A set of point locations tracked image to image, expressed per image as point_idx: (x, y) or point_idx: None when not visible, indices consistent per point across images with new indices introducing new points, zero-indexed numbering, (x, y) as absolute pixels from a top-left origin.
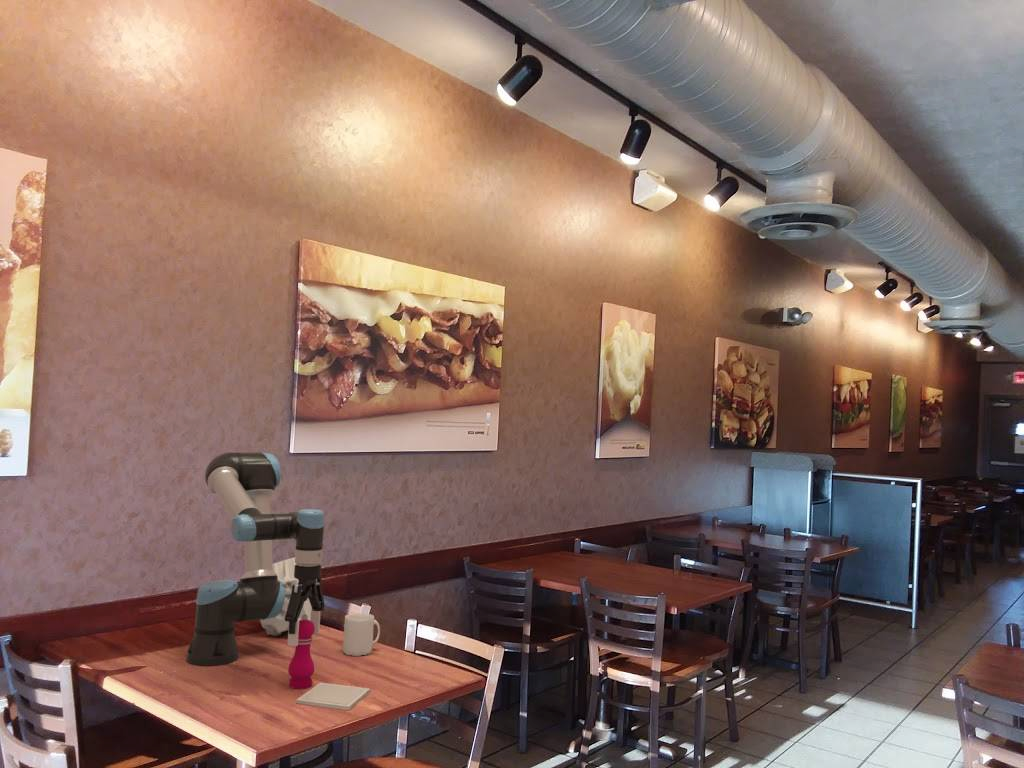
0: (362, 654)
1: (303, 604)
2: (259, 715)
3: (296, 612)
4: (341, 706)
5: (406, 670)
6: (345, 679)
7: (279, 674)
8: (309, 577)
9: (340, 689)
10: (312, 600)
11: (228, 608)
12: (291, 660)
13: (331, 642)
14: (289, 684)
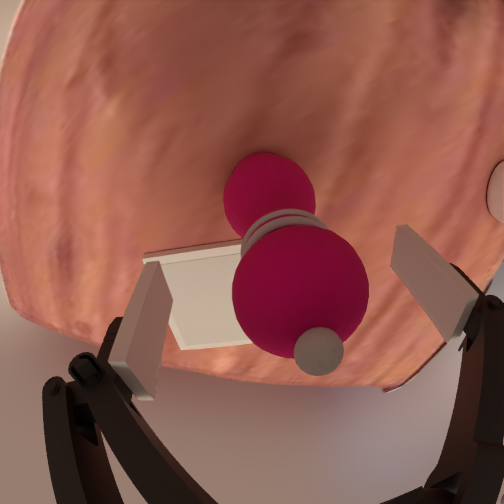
0: (489, 210)
1: (211, 497)
2: (56, 232)
3: (106, 454)
4: (176, 339)
5: (423, 314)
6: None
7: (324, 75)
8: None
9: None
10: (467, 402)
11: None
12: (254, 178)
13: None
14: (238, 164)
